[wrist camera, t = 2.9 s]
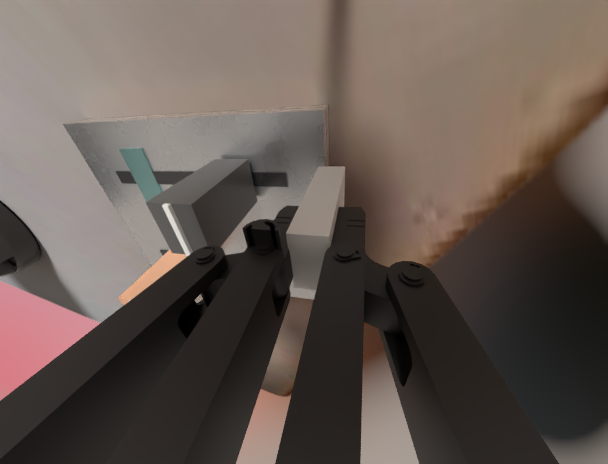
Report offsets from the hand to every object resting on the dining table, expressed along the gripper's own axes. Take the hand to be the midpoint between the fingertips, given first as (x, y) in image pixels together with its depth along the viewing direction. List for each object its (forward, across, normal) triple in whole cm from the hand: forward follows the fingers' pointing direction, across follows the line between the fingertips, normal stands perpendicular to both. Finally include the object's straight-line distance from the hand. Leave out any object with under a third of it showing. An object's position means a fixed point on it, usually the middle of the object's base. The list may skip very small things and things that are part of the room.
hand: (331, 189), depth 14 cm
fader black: (+1, -7, 0) cm, 7 cm away
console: (+3, -10, -4) cm, 11 cm away
